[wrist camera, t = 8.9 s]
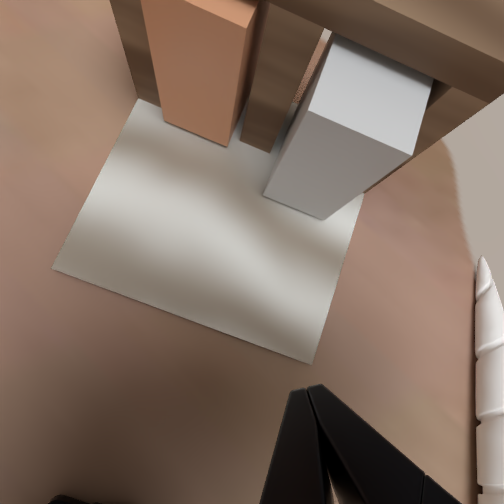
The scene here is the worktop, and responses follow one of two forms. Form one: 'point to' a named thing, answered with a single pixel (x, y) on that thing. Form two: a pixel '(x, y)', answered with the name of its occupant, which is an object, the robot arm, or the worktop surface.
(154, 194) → the socket block
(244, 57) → the terracotta plug
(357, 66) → the grey plug
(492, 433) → the unicorn horn
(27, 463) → the worktop surface
